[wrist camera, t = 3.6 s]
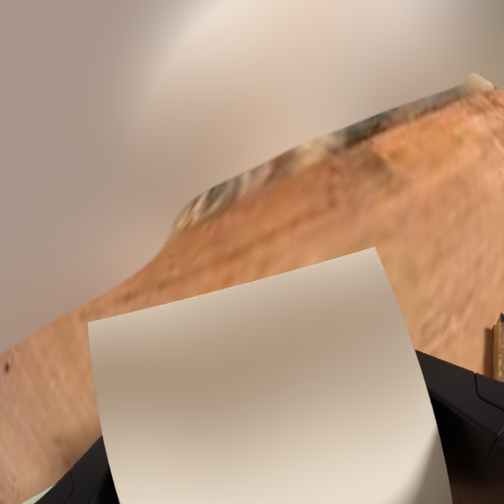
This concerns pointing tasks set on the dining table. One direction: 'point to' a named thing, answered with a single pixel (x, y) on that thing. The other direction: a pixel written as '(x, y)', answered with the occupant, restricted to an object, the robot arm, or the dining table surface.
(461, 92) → the dining table surface
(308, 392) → the maple column
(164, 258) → the dining table surface
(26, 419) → the dining table surface
